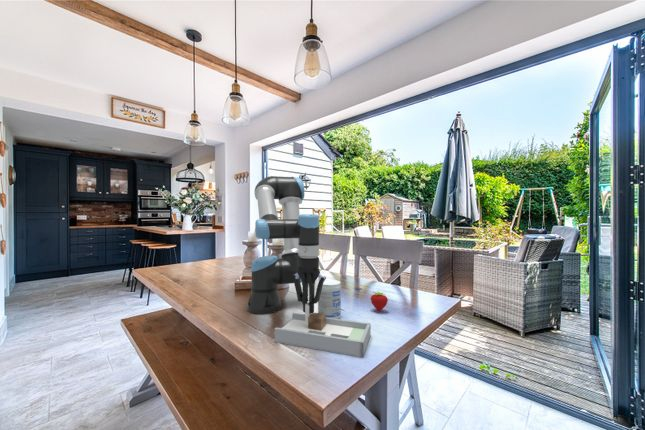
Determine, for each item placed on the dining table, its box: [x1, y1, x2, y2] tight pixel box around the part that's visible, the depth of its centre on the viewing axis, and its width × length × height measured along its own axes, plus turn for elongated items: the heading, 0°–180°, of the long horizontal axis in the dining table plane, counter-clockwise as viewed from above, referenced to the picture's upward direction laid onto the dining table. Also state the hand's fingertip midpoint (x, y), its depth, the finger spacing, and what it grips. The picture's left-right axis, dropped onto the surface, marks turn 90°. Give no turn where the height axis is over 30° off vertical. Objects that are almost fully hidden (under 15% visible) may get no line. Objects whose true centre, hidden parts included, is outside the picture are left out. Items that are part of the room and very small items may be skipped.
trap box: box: [274, 312, 372, 358], centre depth 93 cm, size 30×15×4 cm, turn 71°
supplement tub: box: [317, 279, 342, 319], centre depth 113 cm, size 10×10×15 cm
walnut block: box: [308, 311, 326, 331], centre depth 97 cm, size 5×5×4 cm
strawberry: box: [370, 291, 389, 313], centre depth 119 cm, size 6×8×10 cm
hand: (308, 321), depth 98 cm, fingers closed
